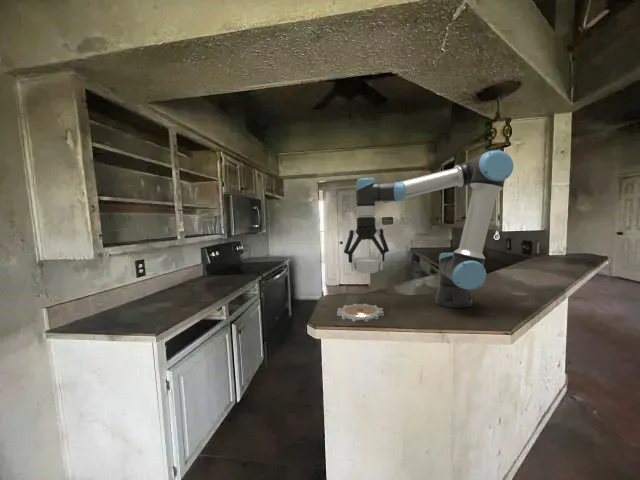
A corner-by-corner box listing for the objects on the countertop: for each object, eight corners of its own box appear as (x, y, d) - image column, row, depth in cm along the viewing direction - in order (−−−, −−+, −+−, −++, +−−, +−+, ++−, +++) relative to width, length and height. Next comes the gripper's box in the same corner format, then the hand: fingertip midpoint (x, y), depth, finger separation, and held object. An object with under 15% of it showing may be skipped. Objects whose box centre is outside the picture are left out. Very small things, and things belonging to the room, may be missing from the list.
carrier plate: (375, 305, 143) (375, 301, 143) (390, 319, 124) (390, 315, 124) (333, 308, 141) (333, 305, 141) (342, 323, 122) (341, 319, 122)
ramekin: (380, 274, 124) (380, 260, 124) (352, 273, 126) (351, 260, 126) (380, 269, 135) (380, 256, 135) (354, 269, 137) (353, 256, 137)
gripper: (390, 215, 134) (390, 267, 136) (335, 217, 131) (337, 269, 133) (397, 216, 126) (397, 270, 128) (339, 217, 123) (340, 272, 125)
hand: (366, 269), depth 130 cm, fingers closed on ramekin, 11 cm apart
